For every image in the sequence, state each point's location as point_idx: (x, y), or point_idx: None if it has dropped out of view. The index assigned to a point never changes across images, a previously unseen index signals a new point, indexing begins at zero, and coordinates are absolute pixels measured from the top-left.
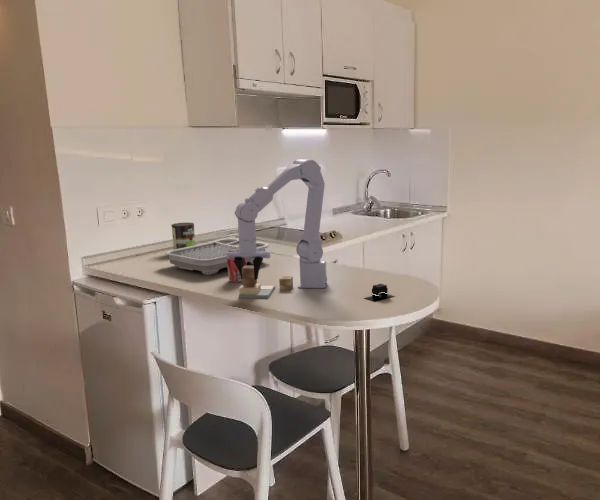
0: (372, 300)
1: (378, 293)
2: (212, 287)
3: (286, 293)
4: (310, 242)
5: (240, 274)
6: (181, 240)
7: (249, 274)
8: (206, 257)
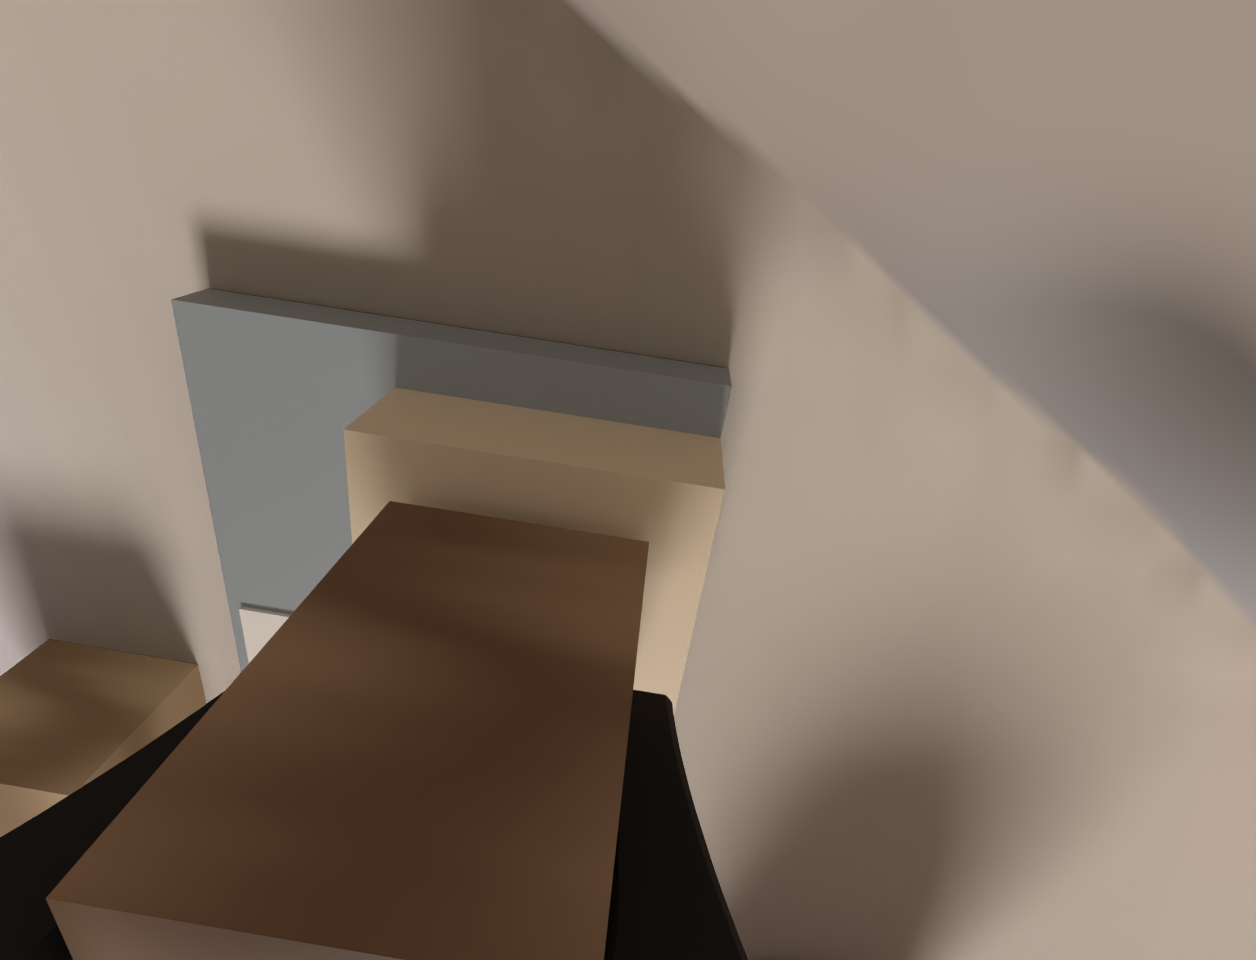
0: None
1: None
2: (1106, 880)
3: (38, 506)
4: None
5: (683, 801)
6: None
7: (368, 712)
8: None
